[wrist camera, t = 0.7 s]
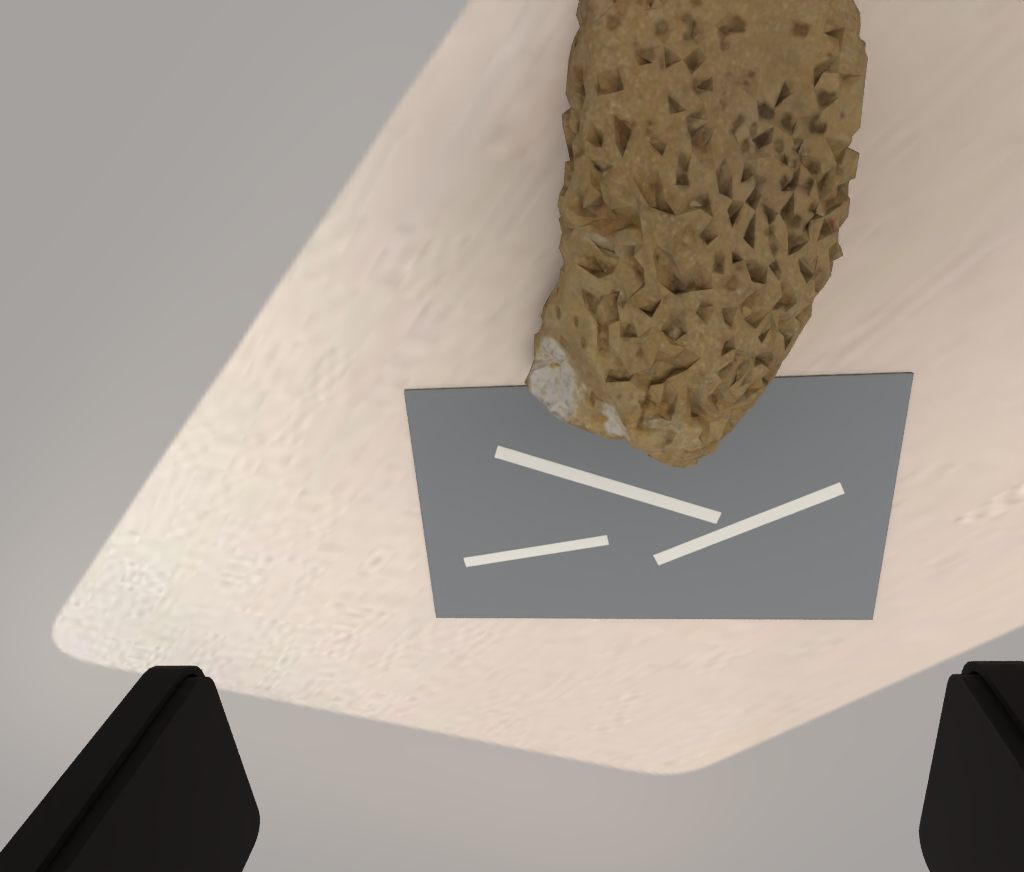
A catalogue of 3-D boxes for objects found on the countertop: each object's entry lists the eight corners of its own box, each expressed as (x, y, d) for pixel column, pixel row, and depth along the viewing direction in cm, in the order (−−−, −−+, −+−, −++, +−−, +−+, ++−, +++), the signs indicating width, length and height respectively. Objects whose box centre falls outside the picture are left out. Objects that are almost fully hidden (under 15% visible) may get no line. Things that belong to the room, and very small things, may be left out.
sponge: (721, 425, 36) (1011, -20, 24) (702, 515, 29) (1083, -29, 18) (490, 311, 37) (658, -165, 25) (425, 373, 31) (608, -221, 19)
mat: (912, 372, 32) (913, 373, 32) (871, 617, 38) (872, 619, 38) (404, 389, 35) (403, 391, 35) (436, 616, 41) (436, 617, 41)
